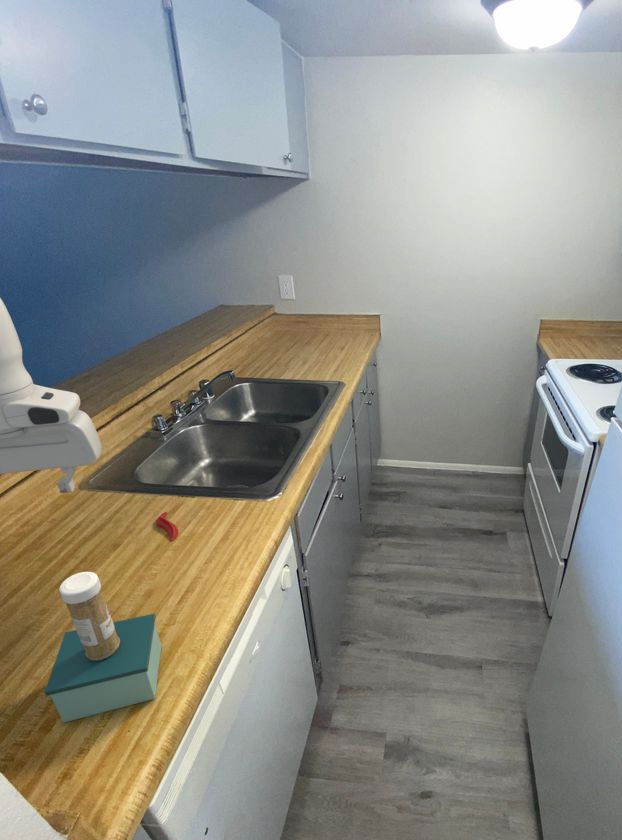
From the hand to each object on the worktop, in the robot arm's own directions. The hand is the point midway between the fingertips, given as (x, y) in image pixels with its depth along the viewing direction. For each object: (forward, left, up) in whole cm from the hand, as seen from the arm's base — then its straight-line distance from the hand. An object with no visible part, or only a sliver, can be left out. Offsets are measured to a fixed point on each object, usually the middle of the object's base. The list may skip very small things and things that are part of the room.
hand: (30, 495), depth 68 cm
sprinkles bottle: (+7, -12, -22) cm, 25 cm away
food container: (+7, -12, -29) cm, 32 cm away
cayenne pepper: (+11, +28, -29) cm, 42 cm away
